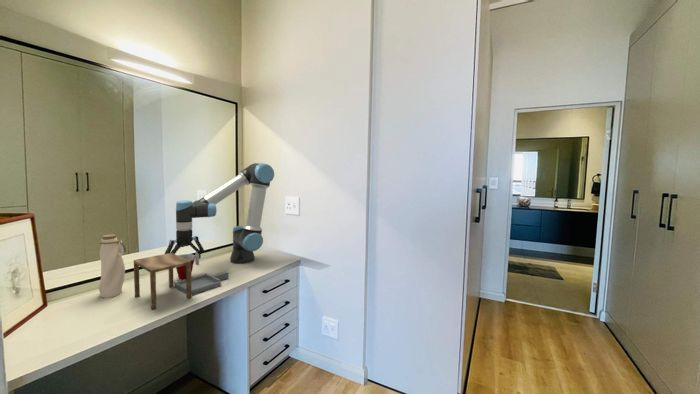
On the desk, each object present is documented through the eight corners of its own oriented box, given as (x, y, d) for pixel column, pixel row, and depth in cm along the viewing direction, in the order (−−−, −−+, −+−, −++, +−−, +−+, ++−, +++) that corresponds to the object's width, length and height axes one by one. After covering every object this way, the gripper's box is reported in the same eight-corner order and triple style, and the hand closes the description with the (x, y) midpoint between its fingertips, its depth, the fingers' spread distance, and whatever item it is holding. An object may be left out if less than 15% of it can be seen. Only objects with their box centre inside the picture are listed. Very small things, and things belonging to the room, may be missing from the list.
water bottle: (125, 287, 143) (123, 232, 140) (128, 293, 136) (126, 235, 134) (98, 293, 135) (95, 234, 133) (99, 299, 129) (97, 238, 126)
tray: (219, 274, 164) (219, 268, 164) (234, 281, 155) (234, 275, 155) (174, 286, 145) (174, 280, 145) (189, 295, 136) (189, 289, 136)
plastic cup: (180, 283, 150) (180, 261, 149) (169, 278, 155) (168, 257, 154) (200, 277, 159) (200, 256, 158) (189, 273, 165) (188, 252, 163)
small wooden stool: (172, 286, 146) (171, 252, 145) (191, 297, 135) (190, 261, 133) (134, 296, 133) (133, 260, 132) (152, 310, 122) (151, 270, 120)
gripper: (203, 225, 167) (203, 261, 169) (155, 231, 147) (155, 271, 149) (210, 227, 162) (210, 263, 164) (161, 233, 142) (162, 275, 144)
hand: (184, 267), depth 156 cm, fingers open, 13 cm apart
